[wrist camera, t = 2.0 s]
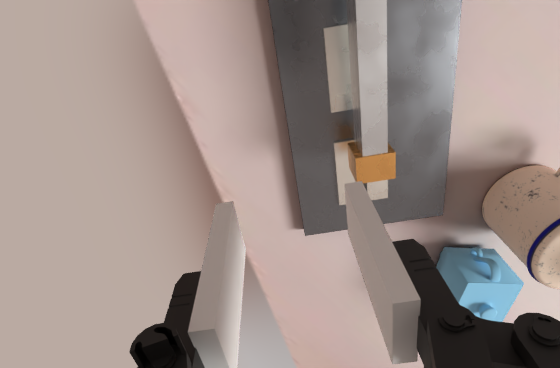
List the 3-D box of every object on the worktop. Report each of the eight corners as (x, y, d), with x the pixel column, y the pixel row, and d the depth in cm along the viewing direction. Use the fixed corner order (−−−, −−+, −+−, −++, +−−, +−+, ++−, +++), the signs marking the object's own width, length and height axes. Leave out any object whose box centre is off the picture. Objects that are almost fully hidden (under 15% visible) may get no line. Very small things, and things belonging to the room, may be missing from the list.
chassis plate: (256, -75, 26) (256, -78, 24) (463, -115, 25) (475, -120, 24) (303, 229, 39) (305, 238, 38) (438, 208, 39) (444, 217, 37)
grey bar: (321, -73, 25) (337, -88, 19) (378, -84, 24) (409, -102, 19) (340, 158, 34) (354, 190, 28) (382, 152, 33) (404, 183, 28)
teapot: (460, 305, 47) (492, 357, 40) (416, 304, 46) (441, 356, 40) (494, 233, 41) (538, 280, 34) (444, 231, 40) (479, 278, 34)
